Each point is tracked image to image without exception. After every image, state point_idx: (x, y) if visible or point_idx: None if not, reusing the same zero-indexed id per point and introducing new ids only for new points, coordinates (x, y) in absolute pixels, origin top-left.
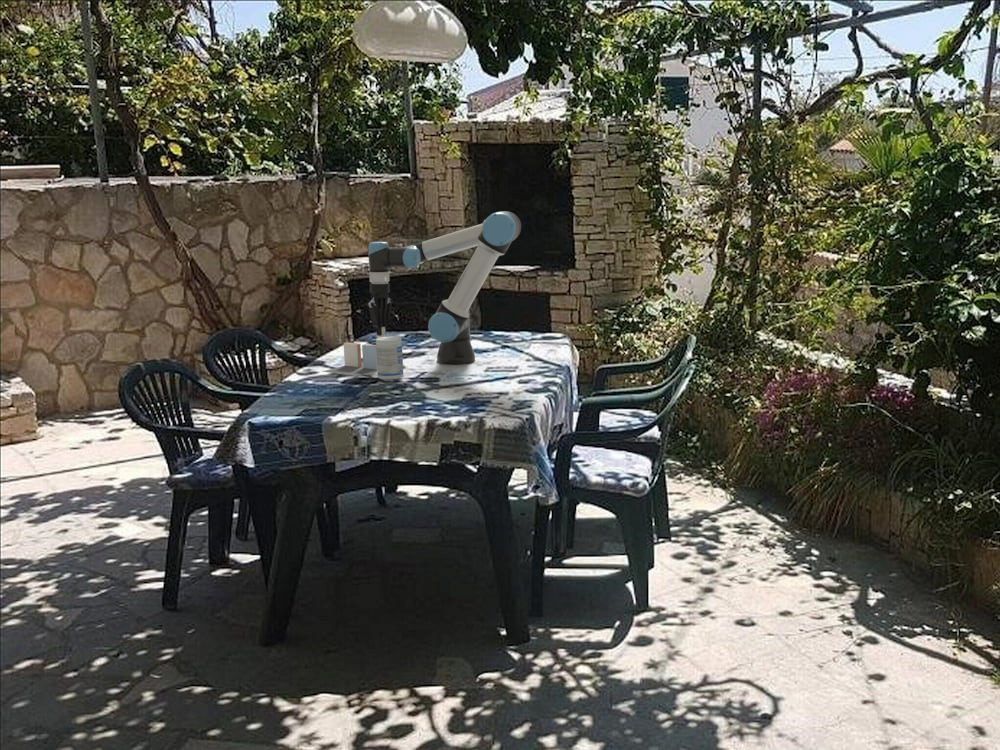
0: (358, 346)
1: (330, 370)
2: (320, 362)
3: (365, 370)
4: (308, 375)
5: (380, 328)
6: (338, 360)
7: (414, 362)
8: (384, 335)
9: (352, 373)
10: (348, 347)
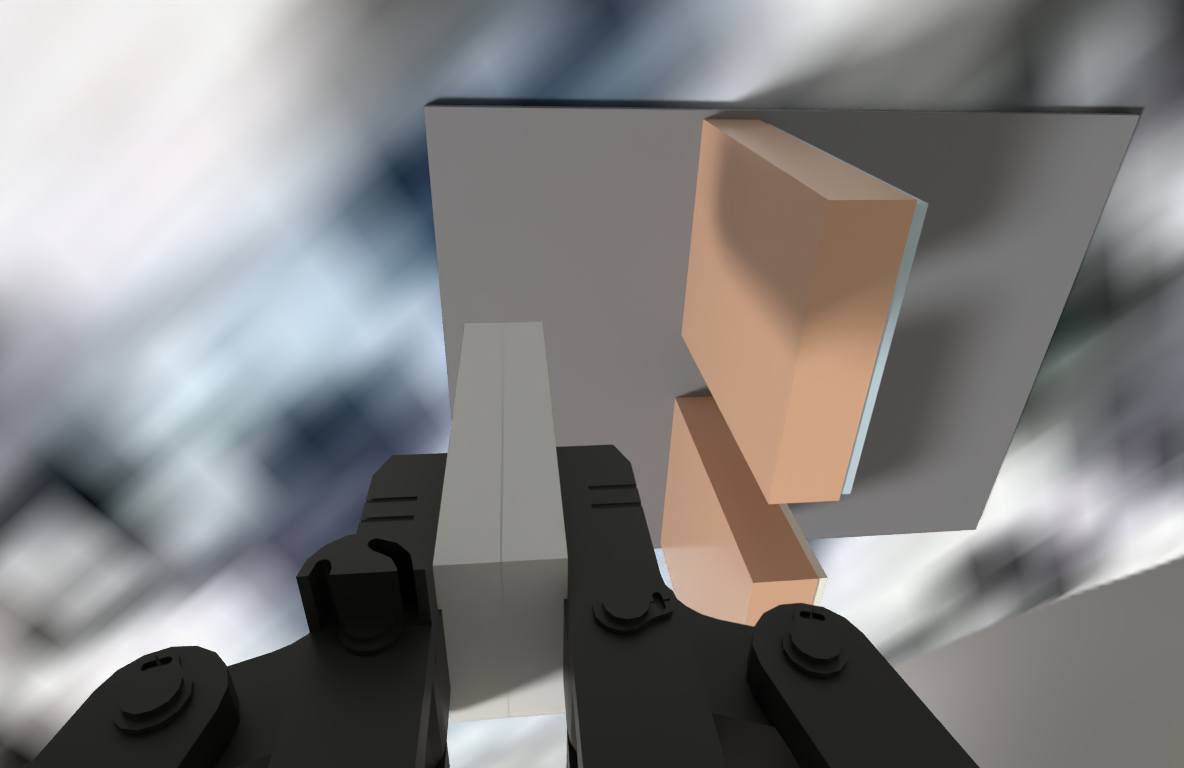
0: (786, 554)
1: (924, 505)
2: None
3: None
4: (1090, 532)
5: (608, 571)
6: (508, 718)
7: (20, 4)
8: (489, 408)
9: (1015, 246)
10: None
